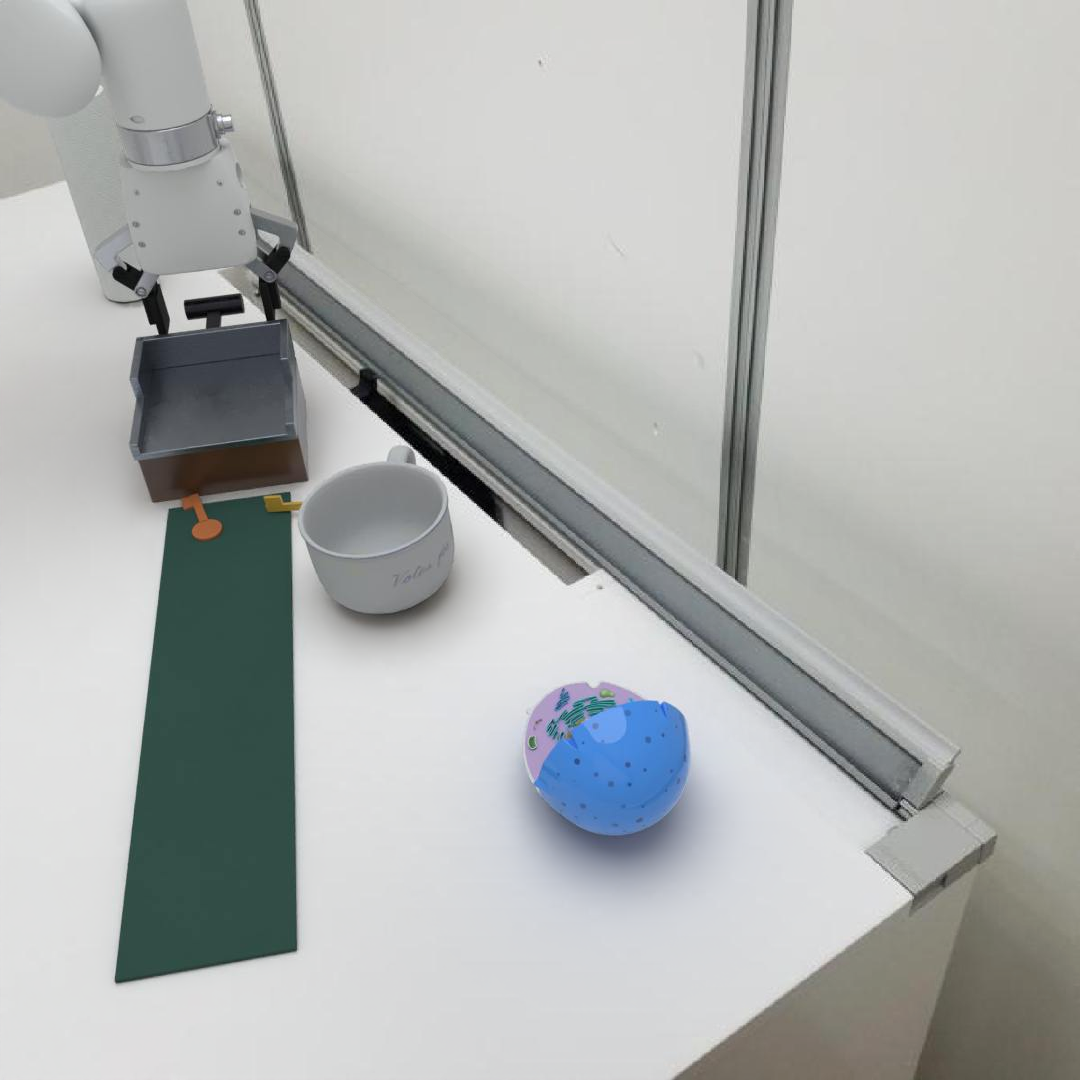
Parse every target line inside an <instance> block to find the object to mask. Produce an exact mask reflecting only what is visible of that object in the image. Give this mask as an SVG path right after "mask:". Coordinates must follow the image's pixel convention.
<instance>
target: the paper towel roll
mask: <svg viewBox="0 0 1080 1080" xmlns="http://www.w3.org/2000/svg"><path fill="white" fill-rule="evenodd" d="M106 93H107V92H106V90H105V86H102V85H101V84H100V85H99V88H98V91H97V93H96V94H95V96H94V98H93V99H92V101H91V102H90V103H89V104H88V105H87V106H86V107H85V108H83V109H82V110H80V111H79V112H77V113H75V114H73V115H70V116H68V117H63V118H56V119H55V118H44V119H45V121H46V124H47V127H48V130H49V133H50V137H51V139H52V142H53V145H54V149H55V152H56V155H57V157H58V161H59V164H60V167H61V170H62V173H63V176H64V179H65V182H66V184H67V187H68V191H69V193H70V196H71V201H72V203H73V206H74V210H75V212H76V215H77V219H78V221H79V224H80V228H81V230H82V233H83V236H84V239H85V243H86V244H87V248H88V252H89V254H90V257H91V261H92V263H93V267H94V270H95V272H96V275H97V278H98V281H99V285H100V287H101V291H102V293H103V294H104V296H105V297H106V298H107V299H108V300H111V301H113V302H119V303H121V302H123V303H127V302H135V301H140V300H142V299H141V298H139V297H137V296H136V295H135V293H134V291H133V290H131V289H129V288H128V287H126V286H124V285H123V284H121V283H119V282H117V281H116V280H115V279H114V278H113V276H112V274H111V273H110V272H109V271H107V270H106V269H105V268H104V267H103V266H102V265H101V264H100V263H99V262H98V261H97V260H96V259H95V258H94V251H95V248H96V246H97V245H98V244H99V243H101V242H102V241H104V240H105V239H106V238H108V237H109V236H111V235H112V234H113V233H115V232H116V231H118V230H119V229H120V228H122V227H123V226H125V225H126V224H127V223H128V220H127V215H126V210H125V205H124V200H123V193H122V187H121V179H120V167H119V155H120V154H121V152H123V151H124V150H123V147H122V144H121V140H120V137H119V133H118V130H117V127H116V123H115V120H114V118H113V117H114V116H113V113H112V109H111V106H110V105H109V104H110V103H109V99H108V96H107V94H106ZM117 255H118V256H119V257H120V259H121V260H122V261H124V262H126V263H128V264H129V265H131V266H133V267H134V268H136V269H138V270H139V271H140V269H141V267H140V265H139V263H138V260H137V257H136V254H135V250H134V246H133V243H132V244H131V245H129V246H128V247H126V248H125V249H124V250H122V251H121V252H119V253H118V254H117ZM157 283H158V284H160V285H161V278H160V276H159V277H158V279H157Z"/></svg>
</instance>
